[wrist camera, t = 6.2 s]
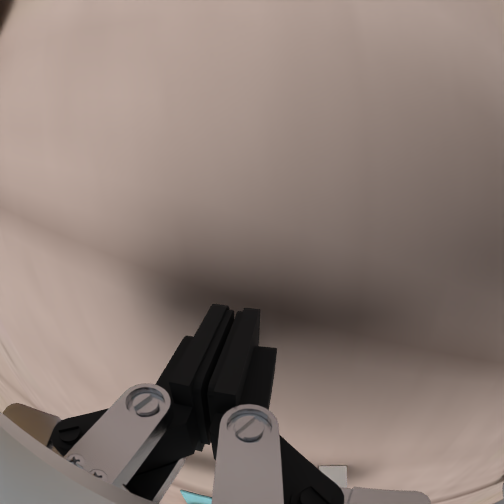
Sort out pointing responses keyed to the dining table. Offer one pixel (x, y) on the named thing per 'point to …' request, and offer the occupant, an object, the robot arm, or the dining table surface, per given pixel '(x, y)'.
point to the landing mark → (196, 498)
